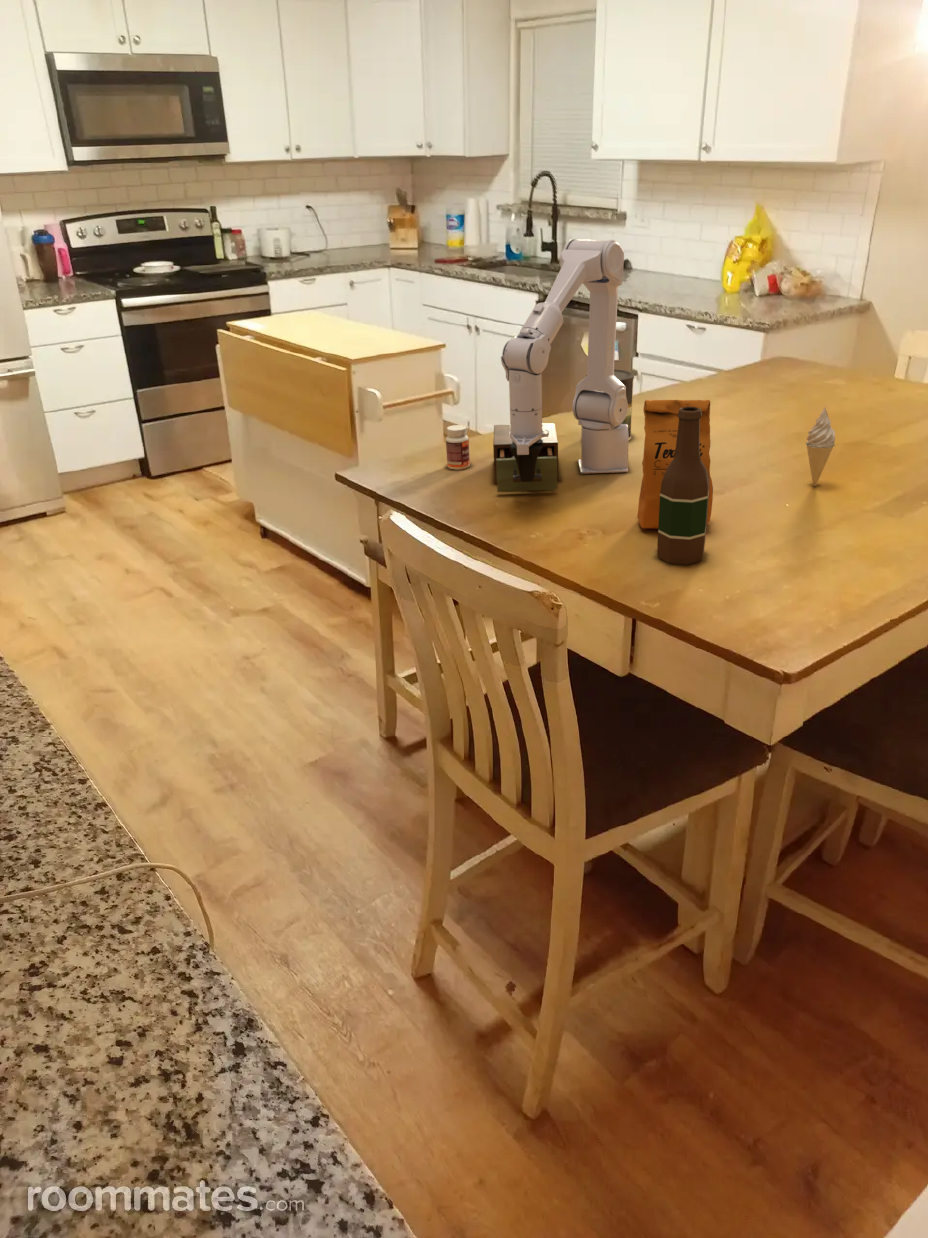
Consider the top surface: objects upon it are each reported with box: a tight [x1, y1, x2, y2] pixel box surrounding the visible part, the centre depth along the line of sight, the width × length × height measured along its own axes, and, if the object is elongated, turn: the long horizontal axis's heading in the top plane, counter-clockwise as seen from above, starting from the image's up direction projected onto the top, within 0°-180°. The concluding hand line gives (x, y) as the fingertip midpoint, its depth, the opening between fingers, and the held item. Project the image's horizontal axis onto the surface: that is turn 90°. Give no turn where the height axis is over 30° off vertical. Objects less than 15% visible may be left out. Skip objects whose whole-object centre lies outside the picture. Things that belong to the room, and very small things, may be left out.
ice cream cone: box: [805, 406, 836, 487], centre depth 169 cm, size 5×5×15 cm
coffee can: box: [585, 369, 635, 441], centre depth 202 cm, size 10×10×14 cm
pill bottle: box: [445, 424, 471, 471], centre depth 191 cm, size 5×5×8 cm
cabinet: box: [492, 422, 559, 485], centre depth 186 cm, size 14×13×8 cm
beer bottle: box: [656, 406, 709, 566], centre depth 142 cm, size 8×8×24 cm
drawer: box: [496, 446, 558, 493], centre depth 177 cm, size 17×11×6 cm, turn 178°
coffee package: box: [637, 399, 714, 530], centre depth 154 cm, size 10×12×22 cm
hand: (527, 480), depth 169 cm, fingers closed
